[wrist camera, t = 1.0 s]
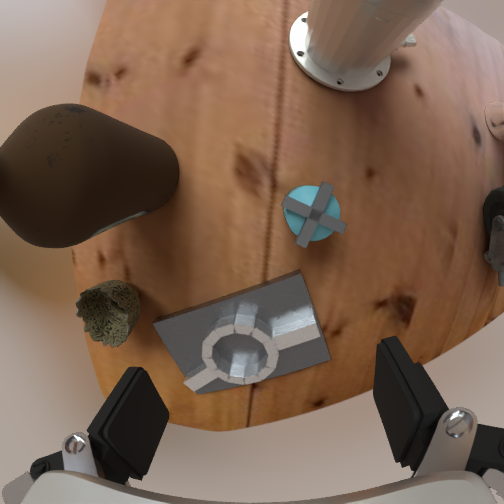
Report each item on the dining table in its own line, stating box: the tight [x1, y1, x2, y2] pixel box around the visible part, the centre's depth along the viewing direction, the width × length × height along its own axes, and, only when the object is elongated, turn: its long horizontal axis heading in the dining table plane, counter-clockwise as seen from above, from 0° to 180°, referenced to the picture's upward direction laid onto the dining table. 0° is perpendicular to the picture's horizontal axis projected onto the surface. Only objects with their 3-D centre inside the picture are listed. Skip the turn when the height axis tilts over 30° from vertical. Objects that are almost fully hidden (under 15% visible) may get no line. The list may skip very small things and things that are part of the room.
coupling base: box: [153, 269, 331, 394], centre depth 33 cm, size 20×13×4 cm, turn 112°
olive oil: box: [0, 104, 179, 248], centre depth 18 cm, size 11×11×25 cm
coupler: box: [281, 181, 347, 248], centre depth 26 cm, size 5×5×7 cm
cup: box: [76, 280, 141, 347], centre depth 30 cm, size 8×7×8 cm
